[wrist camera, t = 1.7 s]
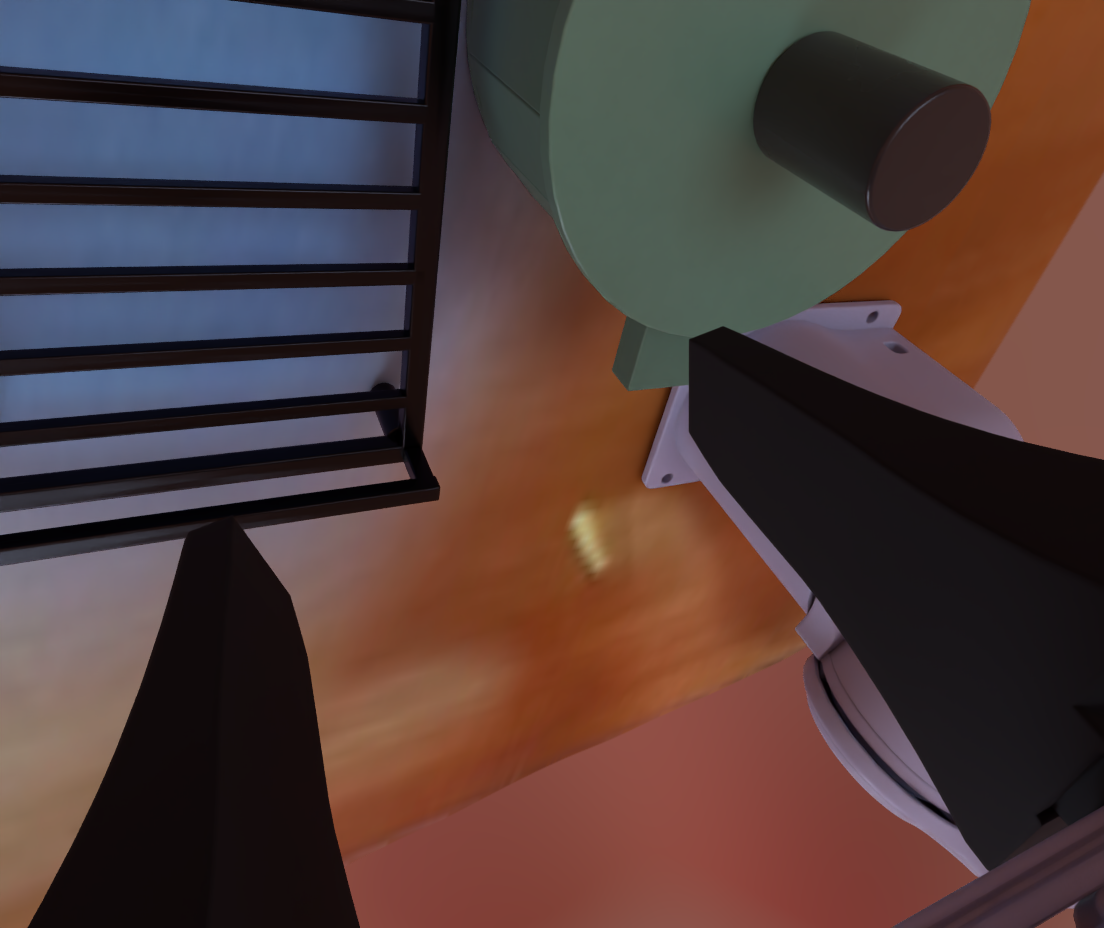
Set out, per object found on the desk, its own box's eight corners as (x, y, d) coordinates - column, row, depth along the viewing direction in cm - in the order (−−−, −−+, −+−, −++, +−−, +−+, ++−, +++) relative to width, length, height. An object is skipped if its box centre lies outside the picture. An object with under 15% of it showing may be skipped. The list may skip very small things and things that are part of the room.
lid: (1099, -204, 14) (1366, -190, 11) (851, 306, 21) (974, 400, 18) (596, -405, 10) (812, -475, 7) (491, 325, 16) (573, 454, 13)
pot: (957, -363, 16) (1210, -396, 12) (721, 296, 25) (821, 387, 22) (519, -576, 11) (700, -722, 8) (438, 308, 21) (503, 422, 18)
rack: (437, -265, 13) (527, -268, 10) (398, 404, 23) (439, 502, 20) (-449, -518, 9) (-730, -649, 6) (-41, 445, 18) (-72, 579, 15)
